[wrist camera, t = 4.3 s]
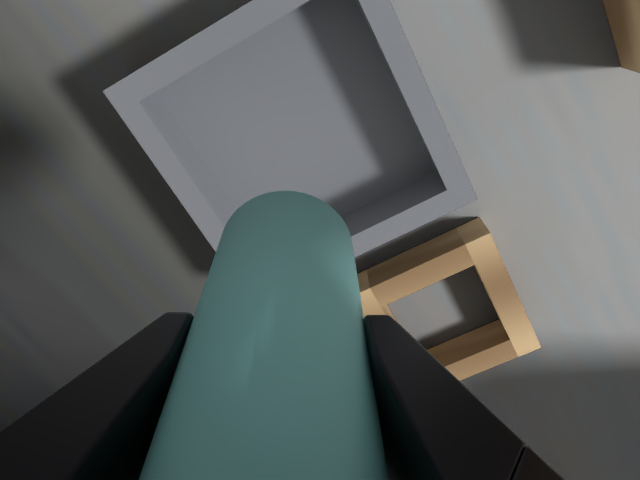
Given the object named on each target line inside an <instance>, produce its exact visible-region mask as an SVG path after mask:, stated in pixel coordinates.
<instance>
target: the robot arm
mask: <svg viewBox="0 0 640 480" xmlns="http://www.w3.org/2000/svg"><path fill="white" fill-rule="evenodd" d="M193 318H194V317H193V315H192V314H191V313H188V312H168V313H165V314H163V315H162V316H161V317H159V318H158V319H156V320H155V321H154V322H152V323H151V324H150V325H148V326H147V327H145V328H144V329H143V330H141V331H140V332H138V333H137V334H136V335H134V336H133V337H132V338H130V339H129V340H127V341H126V342H125V343H123V344H122V345H120V346H119V347H118V348H116V349H115V350H114V351H112V352H111V353H109V354H108V355H107V356H105V357H104V358H102V359H101V360H100V361H98V362H97V363H95V364H94V365H93V366H91V367H90V368H89V369H87V370H86V371H84V372H83V373H82V374H80V375H79V376H77V377H76V378H75V379H73V380H72V381H71V382H69V383H68V384H66V385H65V386H64V387H62V388H61V389H59V390H58V391H57V392H55V393H54V394H53V395H51V396H50V397H48V398H47V399H46V400H44V401H43V402H41V403H40V404H39V405H37V406H36V407H35V408H33V409H32V410H30V411H29V412H28V413H26V414H25V415H23V416H22V417H21V418H19V419H18V420H16V421H15V422H14V423H12V424H11V425H10V426H8V427H7V428H5V429H4V430H3V431H1V432H0V480H139V477H140V474H141V471H142V468H143V465H144V462H145V459H146V456H147V453H148V451H149V448H150V445H151V442H152V439H153V436H154V433H155V430H156V427H157V424H158V421H159V418H160V415H161V412H162V409H163V406H164V403H165V401H166V398H167V395H168V392H169V389H170V386H171V383H172V380H173V377H174V374H175V371H176V368H177V365H178V362H179V359H180V356H181V353H182V350H183V348H184V345H185V342H186V339H187V336H188V333H189V330H190V327H191V324H192V321H193ZM363 322H364V328H365V335H366V341H367V348H368V355H369V361H370V368H371V374H372V380H373V385H374V390H375V395H376V401H377V408H378V414H379V420H380V427H381V433H382V440H383V446H384V453H385V460H386V466H387V473H388V479H389V480H566V479H565V478H563V477H562V476H561V475H560V474H559V473H558V472H557V471H556V470H554V469H553V468H552V467H551V466H550V465H549V464H548V463H547V462H546V461H545V460H544V459H542V458H541V457H540V456H539V455H538V454H537V453H536V452H535V451H534V450H533V449H532V448H531V447H529V446H526V444H525V442H524V441H523V440H522V439H521V438H520V437H519V436H518V435H517V434H516V433H515V432H513V431H512V430H511V429H510V428H509V427H508V426H507V425H506V424H505V423H504V422H503V421H502V420H501V419H500V418H499V417H497V416H496V415H495V414H494V413H493V412H492V411H491V410H490V409H489V408H488V407H487V406H486V405H485V404H484V403H483V402H482V401H480V400H479V399H478V398H477V397H476V396H475V395H474V394H473V393H472V392H471V391H470V390H469V389H468V388H467V387H466V386H464V385H463V384H462V383H461V382H460V381H459V380H458V379H457V378H456V377H455V376H454V375H453V374H452V373H451V372H450V371H449V370H447V369H446V368H445V367H444V366H443V365H442V364H441V363H440V362H439V361H438V360H437V359H436V358H435V357H434V356H433V355H431V354H430V353H429V352H428V351H427V350H426V349H425V348H424V347H423V346H422V345H421V344H420V343H419V342H418V341H417V340H416V339H414V338H413V337H412V336H411V335H410V334H409V333H408V332H407V331H406V330H405V329H404V328H403V327H402V326H401V325H400V324H398V323H397V322H396V321H395V320H394V319H393V318H392V317H391V316H389V315H366V316H365V317H364V320H363ZM525 446H526V447H525Z"/></svg>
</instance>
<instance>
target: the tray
mask: <svg viewBox="0 0 640 480" xmlns="http://www.w3.org/2000/svg"><path fill="white" fill-rule="evenodd" d="M103 93H104V94H105V95H106V97H107V98H108V100H109V101H110V102H111V104H112V105H113V107H114V108H115V110H116V111H117V112H118V114H119V115H120V117H121V118H122V120H123V121H124V122H125V124H126V125H127V127H128V128H129V129H130V131H131V132H132V134H133V135H134V137H135V138H136V139H137V141H138V142H139V144H140V145H141V147H142V148H143V149H144V151H145V152H146V154H147V155H148V157H149V158H150V159H151V161H152V162H153V164H154V165H155V166H156V168H157V169H158V171H159V172H160V174H161V175H162V176H163V178H164V179H165V181H166V182H167V184H168V185H169V186H170V188H171V189H172V191H173V192H174V194H175V195H176V196H177V198H178V199H179V201H180V202H181V203H182V205H183V206H184V208H185V209H186V211H187V212H188V213H189V215H190V216H191V218H192V219H193V221H194V222H195V223H196V225H197V226H198V228H199V229H200V230H201V232H202V233H203V235H204V236H205V238H206V239H207V240H208V242H209V243H210V245H211V246H212V248H213V249H214V250H215V252H216V250H217V247H218V245H219V242H220V239H221V236H222V233H223V230H224V227H225V225H226V223H227V221H228V220H229V219H230V217H231V216H232V214H233V213H234V212H235V211H236V210H237V209H238V208H239V207H240V206H242V205H243V204H244V203H246V202H247V201H249V200H250V199H252V198H255V197H257V196H259V195H262V194H265V193H269V192H275V191H297V192H301V193H306V194H309V195H312V196H314V197H316V198H318V199H320V200H322V201H324V202H325V203H327V204H328V205H330V206H331V207H332V208H333V209H334V210H335V211H336V212H337V213H338V214H339V215H340V216H341V217H342V219H343V220H344V222H345V223H346V225H347V227H348V229H349V232H350V235H351V238H352V244H353V250H354V257H357V256H359V255H361V254H363V253H365V252H367V251H369V250H371V249H373V248H376V247H378V246H380V245H382V244H384V243H386V242H388V241H390V240H392V239H394V238H397V237H399V236H401V235H403V234H405V233H407V232H409V231H411V230H413V229H416V228H418V227H420V226H422V225H424V224H426V223H428V222H430V221H432V220H435V219H437V218H439V217H441V216H443V215H445V214H447V213H449V212H451V211H453V210H456V209H458V208H460V207H462V206H464V205H466V204H468V203H470V202H472V201H475V200H477V199H478V198H477V196H476V194H475V191H474V189H473V187H472V185H471V182H470V180H469V178H468V176H467V173H466V171H465V169H464V167H463V164H462V162H461V160H460V158H459V155H458V153H457V151H456V149H455V146H454V144H453V142H452V140H451V137H450V135H449V133H448V130H447V128H446V126H445V124H444V121H443V119H442V117H441V115H440V112H439V110H438V108H437V106H436V103H435V101H434V99H433V97H432V94H431V92H430V90H429V88H428V85H427V83H426V81H425V79H424V76H423V74H422V72H421V70H420V67H419V65H418V63H417V61H416V58H415V56H414V54H413V51H412V49H411V47H410V45H409V42H408V40H407V38H406V36H405V33H404V31H403V29H402V27H401V24H400V22H399V20H398V18H397V15H396V13H395V11H394V9H393V6H392V4H391V2H390V0H252V1H250V2H248V3H247V4H245V5H244V6H242V7H240V8H239V9H237V10H235V11H234V12H232V13H230V14H229V15H227V16H225V17H224V18H222V19H220V20H219V21H217V22H216V23H214V24H212V25H211V26H209V27H207V28H206V29H204V30H202V31H201V32H199V33H197V34H196V35H194V36H192V37H191V38H189V39H188V40H186V41H184V42H183V43H181V44H179V45H178V46H176V47H174V48H173V49H171V50H169V51H168V52H166V53H164V54H163V55H161V56H160V57H158V58H156V59H155V60H153V61H151V62H150V63H148V64H146V65H145V66H143V67H141V68H140V69H138V70H136V71H135V72H133V73H132V74H130V75H128V76H127V77H125V78H123V79H122V80H120V81H118V82H117V83H115V84H113V85H112V86H110V87H108V88H107V89H105V90H104V91H103Z"/></svg>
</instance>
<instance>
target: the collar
mask: <svg viewBox="0 0 640 480" xmlns="http://www.w3.org/2000/svg"><path fill="white" fill-rule="evenodd" d="M473 265H474V267H475V269H476V271H477V273H478V275H479V278H480V280H481V282H482V284H483V286H484V288H485V290H486V292H487V294H488V297H489V299H490V301H491V303H492V305H493V307H494V309H495V311H496V313H497V316H498V318H499V319H498V320H496V321H494V322H491V323H489V324H487V325H484V326H482V327H479V328H477V329H475V330H472V331H470V332H468V333H465V334H463V335H461V336H458V337H456V338H453V339H451V340H449V341H446V342H444V343H442V344H439V345H437V346H435V347H432V348H430V349H428V350H427V351H428V352H429V353H430V354H431V355H433V356H434V357H435V358H436V359H437V360H438V361H439V362H440V363H441V364H442V365H443V366H444V367H445V368H446V369H447V370H449V371H450V372H451V373H452V374H453V375H454V376H455V377H456V378H457V379H458V380H459V381H460V380H463V379H465V378H468V377H470V376H472V375H475V374H477V373H480V372H482V371H485V370H487V369H490V368H492V367H495V366H497V365H500V364H502V363H505V362H507V361H509V360H512V359H514V358H517V357H519V356H522V355H524V354H527V353H529V352H532V351H534V350H537V349H539V348H541V346H540V344H539V342H538V339H537V337H536V335H535V333H534V330H533V328H532V326H531V324H530V321H529V319H528V317H527V315H526V312H525V310H524V308H523V306H522V303H521V301H520V299H519V297H518V294H517V292H516V290H515V288H514V285H513V283H512V281H511V279H510V276H509V274H508V272H507V270H506V267H505V265H504V263H503V261H502V258H501V256H500V254H499V252H498V249H497V247H496V245H495V243H494V241H493V238H492V236H491V234H490V232H489V231H488V229H487V228H486V226H485V225H484V223H483V222H482V220H481V219H480V217H478V218H476V219H474V220H472V221H469V222H467V223H465V224H463V225H461V226H459V227H457V228H454V229H452V230H450V231H448V232H446V233H444V234H442V235H440V236H437V237H435V238H433V239H431V240H429V241H427V242H425V243H422V244H420V245H418V246H416V247H414V248H412V249H410V250H407V251H405V252H403V253H401V254H399V255H397V256H395V257H392V258H390V259H388V260H386V261H384V262H382V263H380V264H377V265H375V266H373V267H371V268H369V269H367V270H365V271H362V272H360V273H358V274H357V276H358V283H359V289H360V296H361V303H362V309H363V316H364V317H365V316H366V315H389V316H391V317H392V318H393V319H394V320H395V318H394V316H393V315H392V313H391V311H390V309H389V308H388V306H387V304H389V303H391V302H393V301H395V300H398V299H400V298H402V297H404V296H407V295H409V294H411V293H413V292H416V291H418V290H420V289H422V288H424V287H427V286H429V285H431V284H433V283H436V282H438V281H440V280H442V279H444V278H447V277H449V276H451V275H453V274H456V273H458V272H460V271H462V270H465V269H467V268H469V267H471V266H473ZM395 321H396V320H395Z"/></svg>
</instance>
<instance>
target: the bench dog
mask: <svg viewBox="0 0 640 480" xmlns="http://www.w3.org/2000/svg"><path fill="white" fill-rule="evenodd" d="M602 1H603V4H604V8H605V11H606V15H607V18H608V22H609V25H610V29H611V32H612V36H613V39H614V43H615V46H616V50H617V53H618V57H619V60H620V64H621V67H622V68H625V69H628V70H632V71H635V72H638V73H640V0H602Z"/></svg>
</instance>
